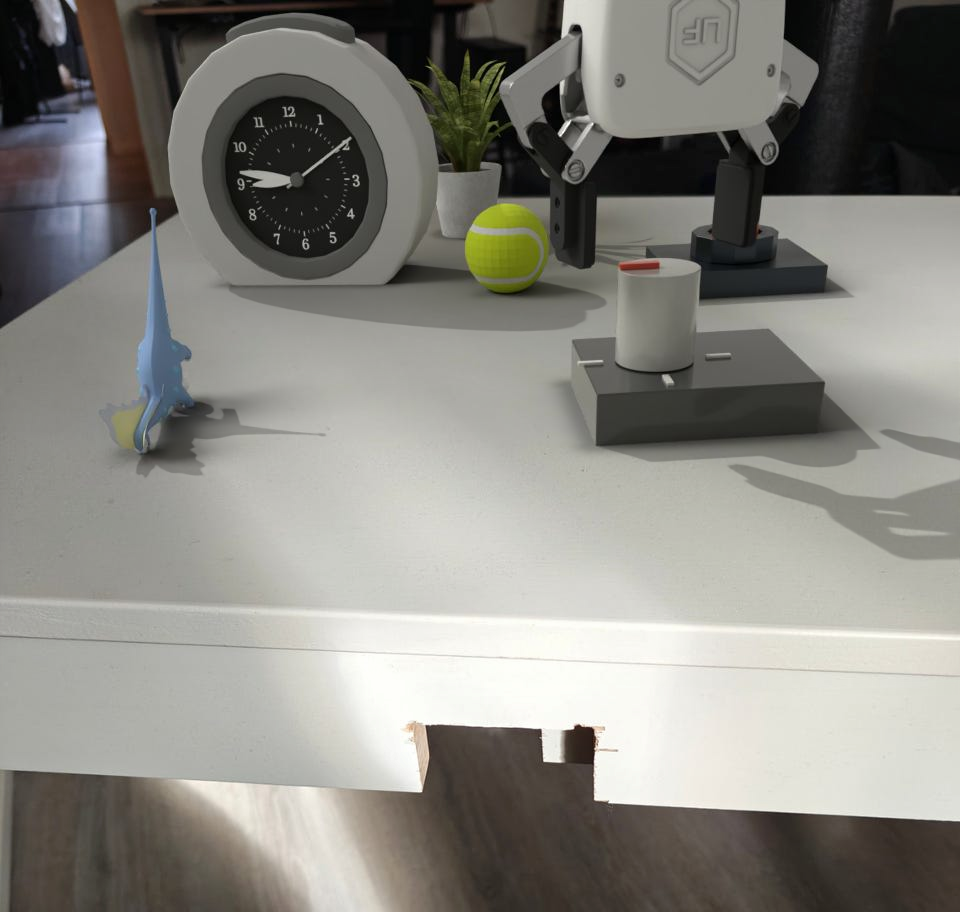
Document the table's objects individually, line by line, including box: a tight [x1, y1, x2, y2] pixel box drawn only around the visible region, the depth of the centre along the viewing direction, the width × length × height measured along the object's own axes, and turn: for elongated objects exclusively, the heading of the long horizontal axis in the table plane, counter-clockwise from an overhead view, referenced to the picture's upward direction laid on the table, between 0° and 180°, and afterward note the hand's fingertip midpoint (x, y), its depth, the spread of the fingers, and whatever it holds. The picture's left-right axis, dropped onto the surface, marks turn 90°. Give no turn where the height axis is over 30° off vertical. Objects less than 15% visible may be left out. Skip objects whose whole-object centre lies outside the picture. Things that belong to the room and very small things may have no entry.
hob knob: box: [615, 258, 701, 372], centre depth 56 cm, size 4×4×5 cm
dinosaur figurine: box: [98, 207, 195, 455], centre depth 58 cm, size 3×15×10 cm
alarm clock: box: [167, 12, 440, 286], centre depth 85 cm, size 21×8×20 cm, turn 82°
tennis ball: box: [464, 203, 550, 294], centre depth 81 cm, size 7×7×7 cm
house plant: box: [405, 48, 513, 239], centre depth 99 cm, size 14×14×16 cm
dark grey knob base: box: [570, 328, 826, 447], centre depth 58 cm, size 12×10×3 cm
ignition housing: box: [645, 223, 829, 300], centre depth 81 cm, size 12×10×4 cm
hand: (655, 253), depth 54 cm, fingers open, 9 cm apart
